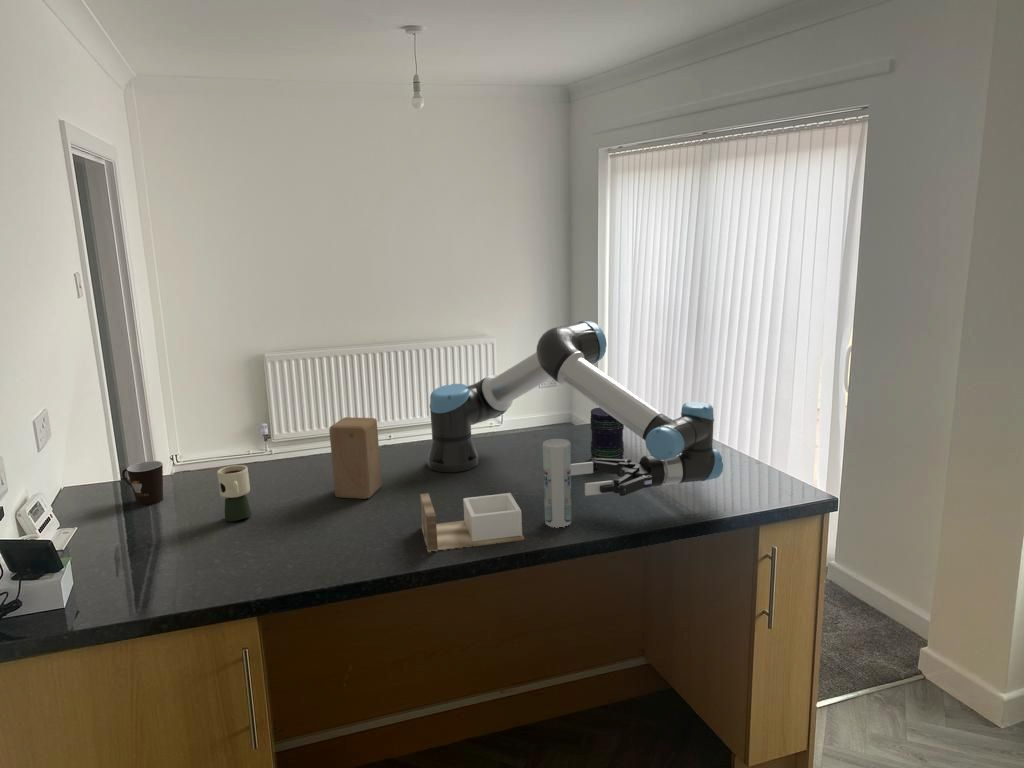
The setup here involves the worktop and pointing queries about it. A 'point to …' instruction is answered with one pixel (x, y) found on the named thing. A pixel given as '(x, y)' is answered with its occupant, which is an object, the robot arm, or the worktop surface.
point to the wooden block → (355, 457)
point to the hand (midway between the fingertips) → (575, 479)
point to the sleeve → (492, 517)
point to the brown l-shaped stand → (449, 531)
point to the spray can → (557, 482)
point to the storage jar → (606, 435)
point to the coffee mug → (146, 481)
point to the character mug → (234, 491)
